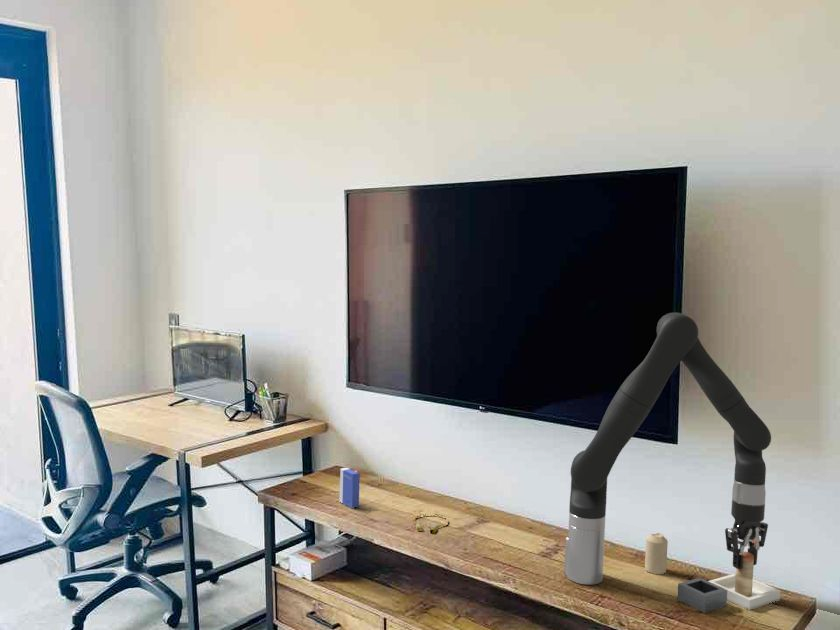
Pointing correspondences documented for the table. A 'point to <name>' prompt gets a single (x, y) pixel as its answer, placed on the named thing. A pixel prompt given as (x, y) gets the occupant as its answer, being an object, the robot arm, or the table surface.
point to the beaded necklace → (419, 528)
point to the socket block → (702, 595)
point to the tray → (759, 597)
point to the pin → (745, 575)
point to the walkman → (349, 487)
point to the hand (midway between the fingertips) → (744, 565)
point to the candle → (656, 554)
